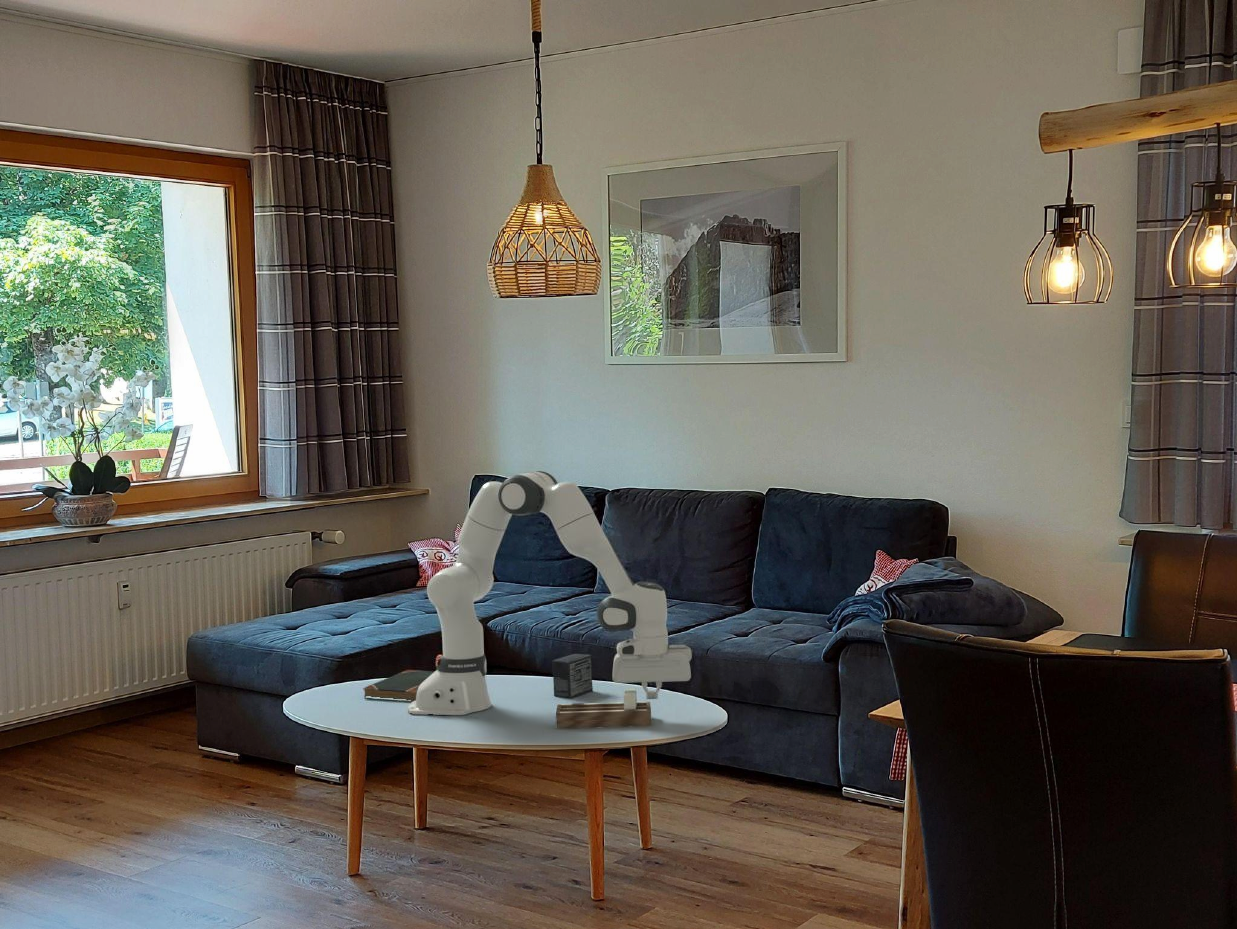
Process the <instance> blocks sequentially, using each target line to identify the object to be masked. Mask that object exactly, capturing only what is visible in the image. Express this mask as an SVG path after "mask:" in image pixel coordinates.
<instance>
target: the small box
mask: <svg viewBox="0 0 1237 929" xmlns="http://www.w3.org/2000/svg"><path fill="white" fill-rule="evenodd" d="M592 671H593V669H592V655H591V654H582V653H580V654H579V653H573V654H570V655H566V656H562V657H559V658H556V659H553V660H552V678H553V680H552V681H553V697H554V696H555V697H556V698H561V699H562V698H563V699H568V700H569V699H570V700H572V699H575V698H577V697H580V696H583V695H585V694H588V693H591V692H593V691H594V689H593V672H592Z"/></svg>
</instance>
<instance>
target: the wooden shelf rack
mask: <svg viewBox="0 0 1237 929" xmlns="http://www.w3.org/2000/svg"><path fill="white" fill-rule="evenodd" d="M556 706H557V707H556V712H555V721H556V722H555V725H556V726H555V727H556V728H555V729H556V730H561V729H563V730H565V729H570V730H571V729H597V727H604V728H629V726H638V727H651V726H652V706H651V701H637V706H636V709H625V710H624V701H623V702H619V701H618V702H594V703H591V702H590V703H589V702H588V703H586V702H584V703H583V702H576V703H575V702H573V703H561V704H557V705H556ZM650 725H651V726H650Z"/></svg>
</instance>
